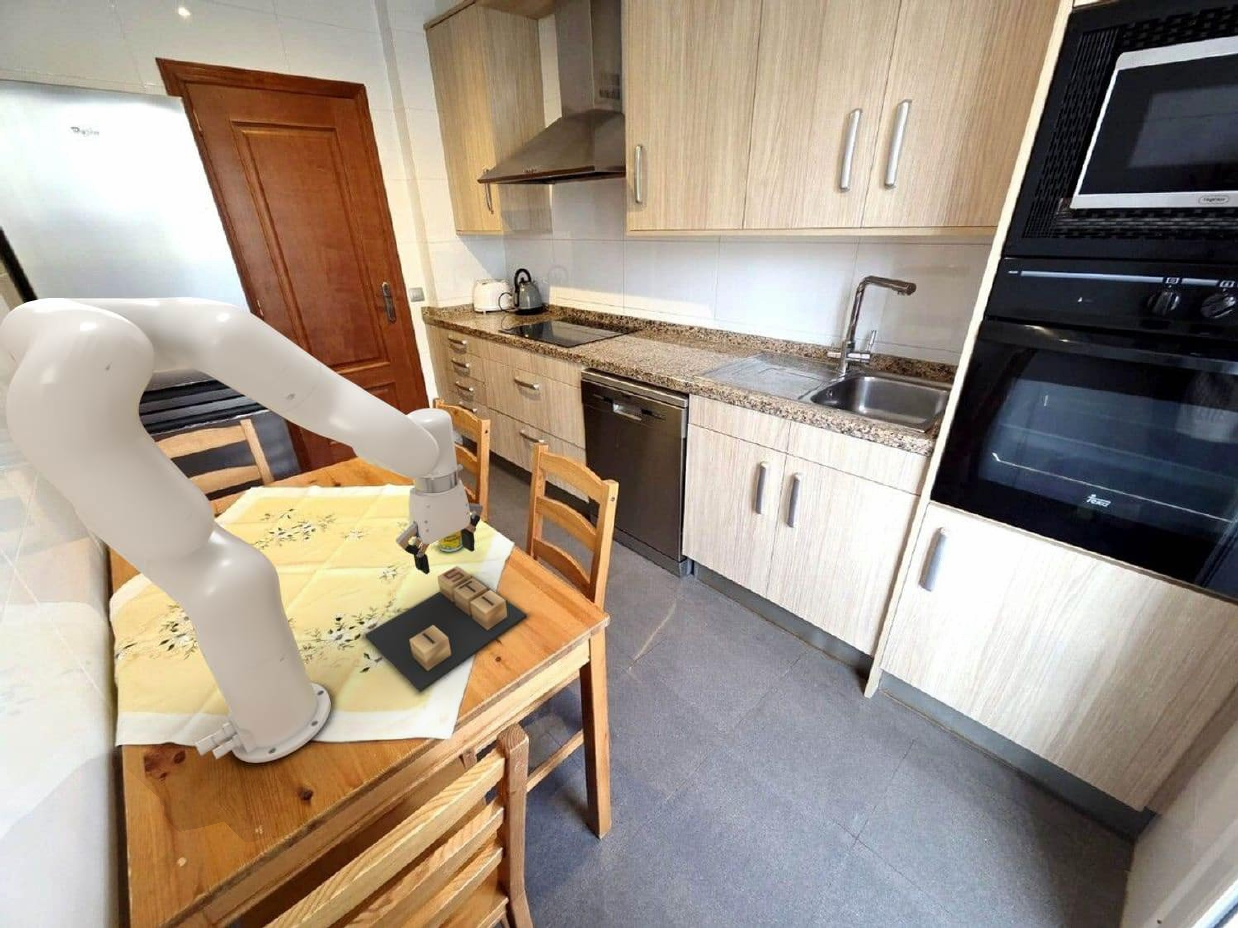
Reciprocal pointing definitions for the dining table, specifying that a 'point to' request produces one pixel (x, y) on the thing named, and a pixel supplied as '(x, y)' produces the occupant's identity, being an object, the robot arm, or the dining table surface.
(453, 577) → the tile
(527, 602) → the dining table surface
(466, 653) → the word mat
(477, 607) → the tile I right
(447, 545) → the supplement bottle
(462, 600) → the tile
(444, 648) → the tile
